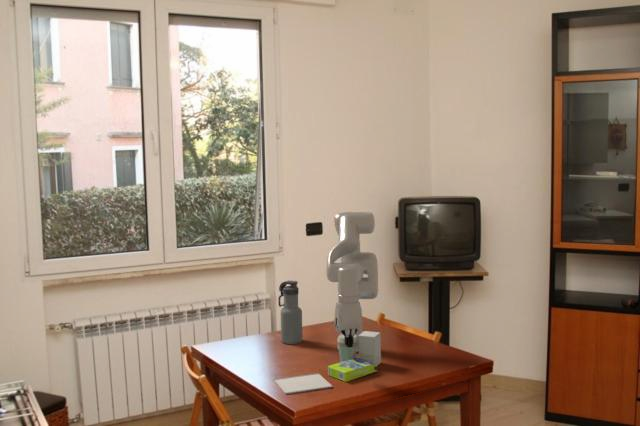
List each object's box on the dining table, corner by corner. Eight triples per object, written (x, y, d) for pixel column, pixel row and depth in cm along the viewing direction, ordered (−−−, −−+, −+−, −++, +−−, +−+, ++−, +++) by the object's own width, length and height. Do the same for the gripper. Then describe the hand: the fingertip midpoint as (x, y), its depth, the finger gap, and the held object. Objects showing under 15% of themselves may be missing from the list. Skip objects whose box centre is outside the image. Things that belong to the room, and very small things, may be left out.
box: (327, 365, 252) (360, 355, 263) (327, 375, 253) (360, 365, 264) (345, 372, 244) (378, 361, 255) (345, 383, 245) (378, 372, 256)
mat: (318, 374, 254) (318, 373, 254) (333, 387, 239) (333, 386, 239) (273, 380, 248) (273, 379, 248) (286, 394, 233) (286, 393, 233)
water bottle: (276, 342, 298) (274, 282, 296) (288, 337, 306) (287, 278, 304) (294, 345, 293) (293, 284, 290) (306, 340, 301) (305, 280, 299)
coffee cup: (352, 369, 259) (351, 340, 258) (333, 366, 264) (333, 337, 263) (362, 363, 266) (361, 334, 265) (344, 360, 271) (343, 332, 270)
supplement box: (381, 362, 267) (381, 332, 266) (375, 367, 261) (374, 336, 260) (364, 360, 271) (364, 330, 269) (358, 365, 264) (357, 335, 263)
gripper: (362, 295, 254) (362, 341, 255) (326, 299, 248) (327, 346, 250) (370, 299, 246) (371, 346, 248) (333, 303, 241) (334, 351, 243)
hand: (349, 346), depth 249 cm, fingers closed
